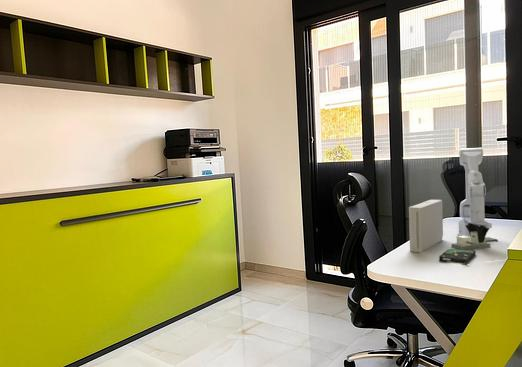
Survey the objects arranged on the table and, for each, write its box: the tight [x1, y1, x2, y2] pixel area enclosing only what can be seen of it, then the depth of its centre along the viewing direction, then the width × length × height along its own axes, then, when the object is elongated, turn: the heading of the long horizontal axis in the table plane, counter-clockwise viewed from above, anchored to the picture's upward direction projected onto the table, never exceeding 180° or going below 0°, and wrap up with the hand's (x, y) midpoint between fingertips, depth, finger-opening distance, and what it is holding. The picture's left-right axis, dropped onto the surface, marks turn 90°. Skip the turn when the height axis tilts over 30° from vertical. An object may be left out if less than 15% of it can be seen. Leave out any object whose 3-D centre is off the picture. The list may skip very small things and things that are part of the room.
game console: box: [408, 199, 444, 254], centre depth 185 cm, size 6×27×20 cm, turn 137°
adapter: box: [456, 235, 473, 246], centre depth 174 cm, size 7×4×5 cm, turn 12°
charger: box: [470, 231, 485, 245], centre depth 177 cm, size 4×4×6 cm
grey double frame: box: [451, 242, 491, 251], centre depth 177 cm, size 7×14×2 cm, turn 102°
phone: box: [485, 236, 499, 243], centre depth 187 cm, size 6×11×1 cm, turn 102°
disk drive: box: [438, 247, 477, 266], centre depth 162 cm, size 10×3×15 cm
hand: (477, 241), depth 178 cm, fingers closed on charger, 4 cm apart
